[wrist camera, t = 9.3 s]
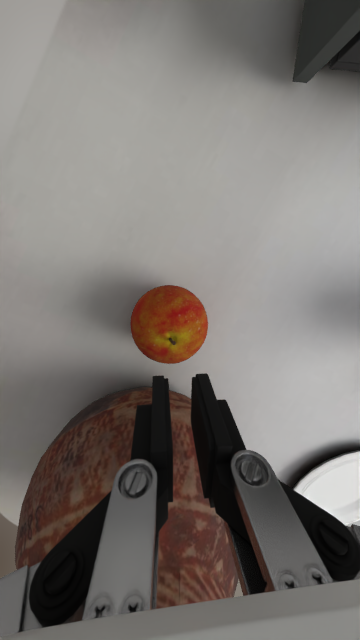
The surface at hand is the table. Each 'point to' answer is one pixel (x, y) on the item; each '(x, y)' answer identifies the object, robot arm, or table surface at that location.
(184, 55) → the table surface
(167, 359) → the fruit
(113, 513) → the robot arm
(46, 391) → the table surface
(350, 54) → the grey drawer
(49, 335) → the table surface
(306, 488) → the plate
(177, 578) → the jug
